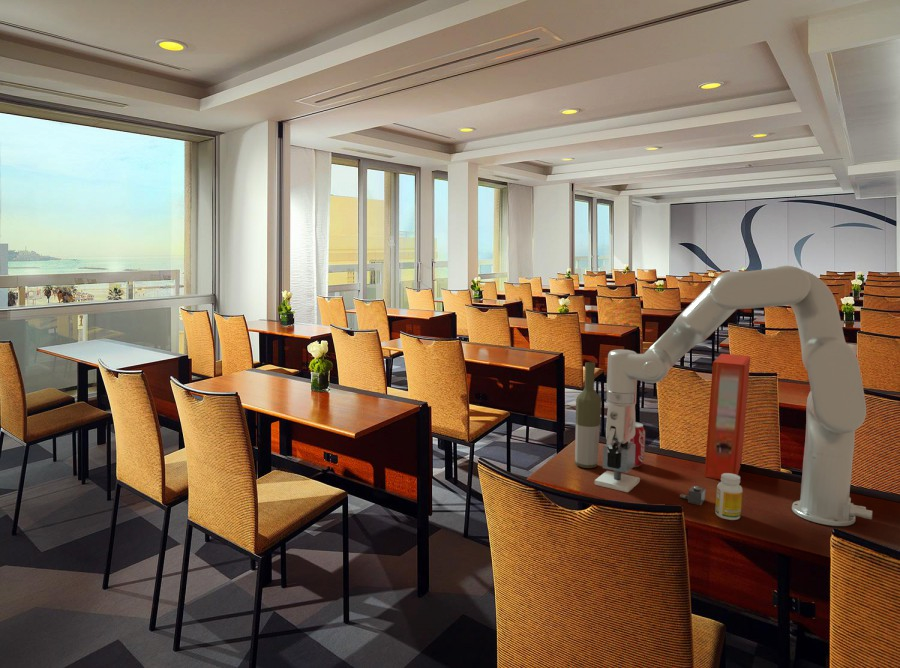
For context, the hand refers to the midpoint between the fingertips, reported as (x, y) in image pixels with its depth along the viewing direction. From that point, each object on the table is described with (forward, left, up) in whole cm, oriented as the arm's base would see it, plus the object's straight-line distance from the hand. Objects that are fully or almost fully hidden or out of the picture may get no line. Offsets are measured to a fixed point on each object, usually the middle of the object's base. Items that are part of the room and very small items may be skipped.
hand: (618, 463), depth 158 cm
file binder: (-21, -28, -6) cm, 35 cm away
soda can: (+2, -17, -6) cm, 18 cm away
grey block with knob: (-19, 0, -6) cm, 19 cm away
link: (0, 0, -1) cm, 1 cm away
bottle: (+12, -8, -6) cm, 16 cm away
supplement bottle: (-28, +5, -6) cm, 29 cm away
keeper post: (0, 0, -6) cm, 6 cm away
